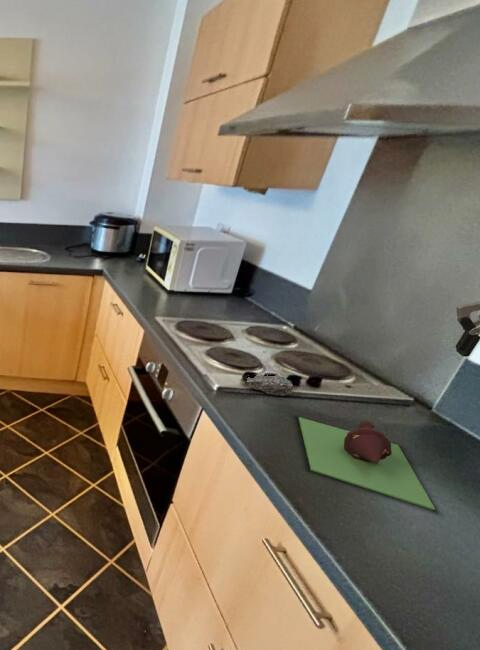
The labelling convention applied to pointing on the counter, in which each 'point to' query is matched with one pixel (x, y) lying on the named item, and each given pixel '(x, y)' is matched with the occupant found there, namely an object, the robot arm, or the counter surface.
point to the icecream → (367, 443)
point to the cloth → (361, 465)
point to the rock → (271, 384)
